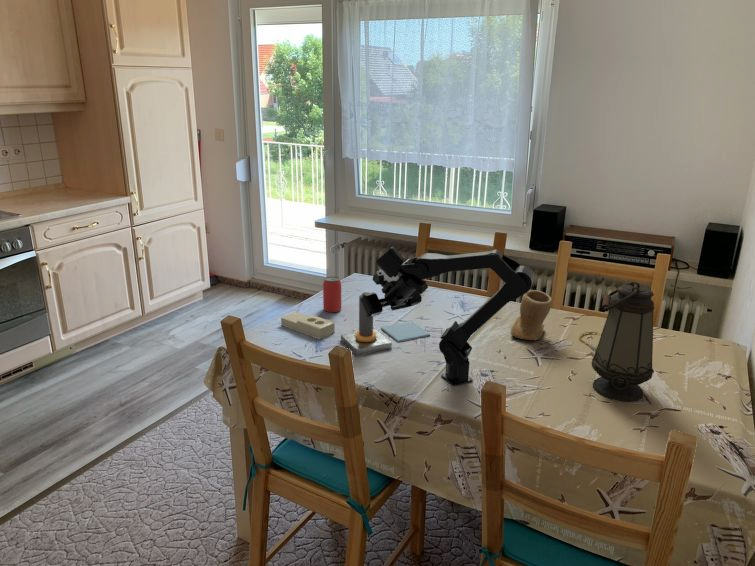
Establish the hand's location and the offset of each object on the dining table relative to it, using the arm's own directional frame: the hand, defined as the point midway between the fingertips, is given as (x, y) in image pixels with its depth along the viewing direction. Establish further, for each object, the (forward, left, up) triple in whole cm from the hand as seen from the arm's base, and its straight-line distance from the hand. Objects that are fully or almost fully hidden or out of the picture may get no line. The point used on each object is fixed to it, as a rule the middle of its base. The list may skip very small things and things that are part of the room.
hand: (379, 312), depth 163 cm
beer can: (+39, -1, -13) cm, 41 cm away
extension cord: (-24, -67, -14) cm, 73 cm away
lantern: (-48, -48, -13) cm, 69 cm away
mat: (+10, -15, -13) cm, 22 cm away
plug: (+7, +1, -13) cm, 15 cm away
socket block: (+7, +1, -13) cm, 15 cm away
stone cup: (-9, -52, -13) cm, 54 cm away
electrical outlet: (+26, +13, -14) cm, 32 cm away
